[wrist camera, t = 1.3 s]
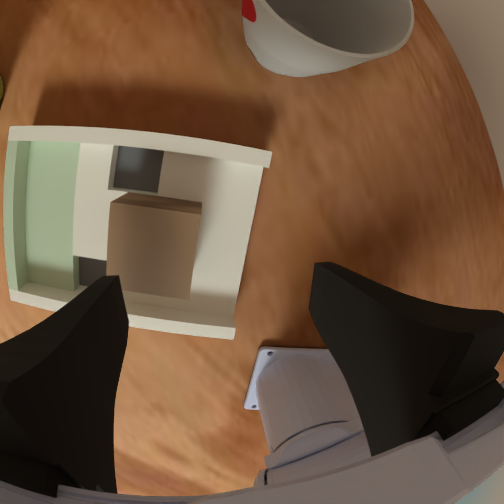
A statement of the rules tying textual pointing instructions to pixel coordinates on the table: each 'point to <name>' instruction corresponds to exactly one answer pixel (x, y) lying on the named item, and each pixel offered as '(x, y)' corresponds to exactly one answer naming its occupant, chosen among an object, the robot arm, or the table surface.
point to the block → (153, 243)
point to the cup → (324, 33)
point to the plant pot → (1, 88)
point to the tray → (97, 216)
